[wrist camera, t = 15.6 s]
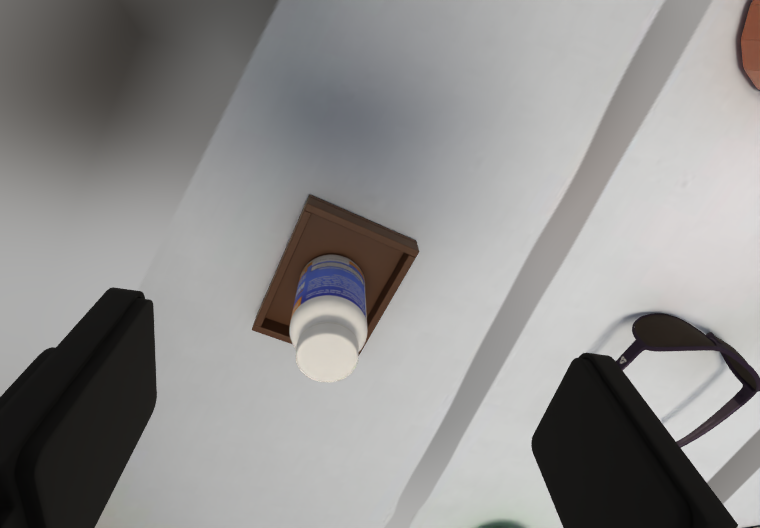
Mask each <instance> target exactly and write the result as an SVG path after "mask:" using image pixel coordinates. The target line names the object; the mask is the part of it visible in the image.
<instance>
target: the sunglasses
mask: <svg viewBox="0 0 760 528" xmlns="http://www.w3.org/2000/svg"><path fill="white" fill-rule="evenodd" d="M634 326H635V328H634ZM632 332H633V335H634V337H635V339H636V340H635V341H634V343H633V344H632V345H631V346H630V347H629V348H628V349H627V350H626V351H625V352H624V353H623V354H622V355H621V356H620V358H619V359H618V360H617V361H616V363H617V364H618V366H619V367H620V368H621V370H622V371H623V370H624V369H625V368H626V367H627V366H628V365H629V364H630V363H631V362H632V361H633V360H634V359H635V358H636V357H637V356H638V355H639V354H640V353H641V352H642V351H644V350H649V351H697V350H714V351H719V352H720V353H721V354H722V356H723V358H724V360H725V361H726V363H727V365H728V367H729V368H730V370H731V371H732V372H733V374H734V375H735V376H736V377H737V378H738V380H739V381H740V382H741V383H742V384H743V387H742V389H741V390H740V391H739V392H738V393H737V394H736V395H735V396H734V397H733V398H732V399H731V400H730V401H729V402H728V403H726V404H725V405H724V406H723V407H722V408H721V409H720V410H719V411H717V412H716V413H715V414H714V415H713V416H712V417H710V418H709V419H708V420H707V421H706V422H704V423H703V424H702V425H701V426H699V427H698V428H697V429H695V430H694V431H693V432H691V433H690V434H689V435H687V436H686V437H684V438H682V439H681V440H679V441H677V442H676V443H677V444H678V446H679V447H680V448H681V447H683V446H685V445H687V444H688V443H690V442H692V441H694V440H695V439H697V438H699V437H700V436H702V435H704V434H705V433H707V432H708V431H710V430H711V429H713V428H714V427H715V426H717V425H718V424H720V423H721V422H722V421H724V420H725V419H726V418H727V417H729V416H730V415H731V414H733V413H734V412H735V411H736V410H738V409H739V408H740V407H741V406H743V405H744V404H745V403H746V402H747V401H749V400H750V399H751V398H752V397H753V396H754V395H755V394H756V393H757V392H758V391H760V377H759V376H758V374H757V373H756V371H755V370H754V369H753V368H752V367H751V366H750V365H749V364H748V363H747V362H746V361H745V359H744V358H743V357H742V356H741V355H740V354H739V353H738V352H737V351H736V350H735V349H734V348H732V347H731V346H730V345H729V344H727V343H725V342H724V341H722V340H721V339H719V338H717V337H716V336H715V335H714V334H713V333H712V332H709V333H708V334H706V335H705V334H704V333H702V332H701V331H700V330H698V329H697V328H695V327H694V326H692V325H691V324H689V323H687V322H685V321H684V320H682V319H679V318H677V317H674V316H671V315H668V314H660V313H655V314H648V315H645V316H642V317H640V318H638V319H637V320H636V321H635V322H634V324H633V327H632Z"/></svg>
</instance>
